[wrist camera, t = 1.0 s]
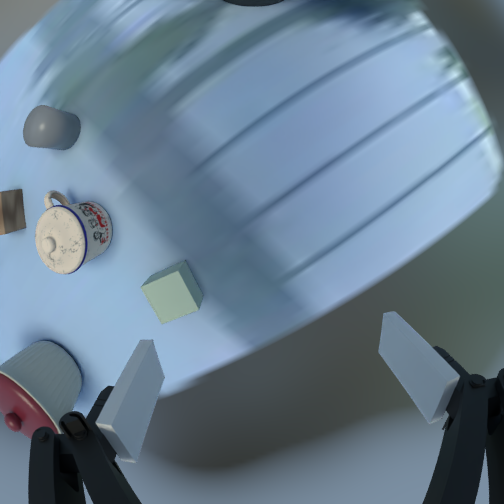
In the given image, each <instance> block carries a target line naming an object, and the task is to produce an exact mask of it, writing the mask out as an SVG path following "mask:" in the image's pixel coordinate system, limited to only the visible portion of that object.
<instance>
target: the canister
mask: <svg viewBox="0 0 504 504" xmlns="http://www.w3.org/2000/svg"><path fill="white" fill-rule="evenodd" d="M81 386H82V379H81V374H80V371H79V368H78V366H77V364H76V363H75V362H74V359H72V357H71V356H70V355H69V354H68V353H67V352H66V351H65V350H64V349H62V348H61V347H60V346H58V345H57V344H54V343H53V342H50V341H38V342H35V343H33V344H31V345H30V346H28V347H27V348H25V349H23V350H22V351H20V352H19V353H17V354H16V355H14V356H13V357H12V358H10V359H9V360H7V361H6V362H5V363H3V364H2V365H0V411H1V413H2V414H3V415H4V416H5V417H4V420H5V423H6V425H7V426H8V427H9V428H10V429H11V430H12V431H15V432H18V431H20V432H21V433H23V434H24V435H25V436H27V437H28V438H30V439H32V435H33V433H34V431H35V430H36V429H38V428H39V427H43V426H46V427H50V428H51V429H52V430H53V431H54V433H55V434H63V431H62V430H61V429H60V427H59V420H60V418H61V417H62V416H63V415H64V414H66V413H68V412H72V410H73V408H74V405H75V403H76V400H77V398H78V395H79V393H80V390H81Z"/></svg>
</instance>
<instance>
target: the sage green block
mask: <svg viewBox="0 0 504 504" xmlns="http://www.w3.org/2000/svg"><path fill="white" fill-rule="evenodd" d="M141 289H142V291H143V293H144V294H145V296H146V298H147V300H148V302H149V303H150V305H151V307H152V308H153V310H154V312H155V314H156V315H157V317H158V319H159V320H160V322H161V324H164V323H167V322H169V321H172V320H174V319H177V318H180V317H182V316H185V315H187V314H190V313H193V312H195V311H198V310H199V308H200V305H201V302H202V299H203V294H202V292H201V290H200V288H199V286H198V284H197V282H196V280H195V279H194V277H193V275H192V273H191V271H190V269H189V267H188V265H187V263H186V261H182V262H180V263H178V264H176V265H173V266H171V267H169V268H167V269H165V270H162V271H160V272H158V273H156V274H154V275H151V276H150V277H149V278H148V280H147V281H146V282H145V283H144V284H143V285H142V286H141Z"/></svg>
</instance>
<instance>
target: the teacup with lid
mask: <svg viewBox="0 0 504 504" xmlns="http://www.w3.org/2000/svg"><path fill="white" fill-rule="evenodd" d="M51 198H54V199H56V200H58V201H59V202H60V203H61V204H62V205H56V206H54V205H53V203H52V200H51ZM44 202H45V206H46V208H47V210H46V211H45V212H44V213H43V214H42V216H41V217H40V219H39V221H38V223H37V227H36V233H35V240H36V247H37V250H38V253H39V255H40V257H41V259H42V261H43V262H44V263H45V265H46V266H47V267H48V268H49V269H51V270H52V271H54V272H56V273H59V274H70V273H73V272H75V271H77V270H78V269H79V268H80V267H81V266H82V265H83V264H85V263H86V262H88V261H90V260H92V259H93V258H95V257H97V256H98V255H100V254H102V253H103V252H104V251H105V250H106V249H107V247H108V246H109V244H110V241H111V237H112V224H111V221H110V218H109V216H108V214H107V212H106V211H105V210H104V209H103V208H102V207H101V206H100V205H99V204H97V203H94V202H89V201H87V202H81V203H75V204H70V203H69V201H68V199H67V198H66V197H65V196H64V195H63V194H61V193H60V192H58V191H49V192H48V193H47V194H46V195H45V198H44Z"/></svg>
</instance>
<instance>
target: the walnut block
mask: <svg viewBox="0 0 504 504" xmlns="http://www.w3.org/2000/svg"><path fill="white" fill-rule="evenodd" d="M23 228H26V223H25V215H24V206H23V194H22V189H18V190H10V191H3V192H0V235H3V234H7V233H10V232H13V231H17V230H20V229H23Z"/></svg>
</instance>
